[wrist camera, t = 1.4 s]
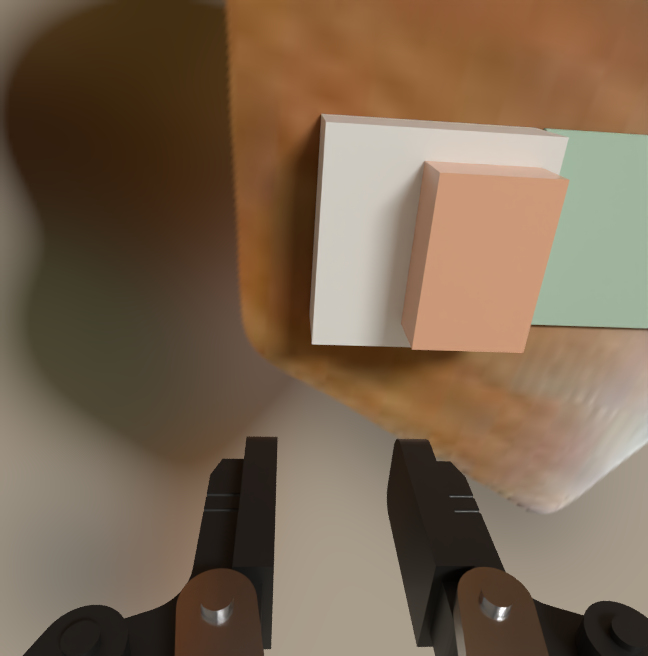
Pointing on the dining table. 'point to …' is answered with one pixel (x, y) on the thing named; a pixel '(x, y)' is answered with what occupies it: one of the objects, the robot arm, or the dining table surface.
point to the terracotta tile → (479, 255)
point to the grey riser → (389, 212)
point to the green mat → (599, 235)
